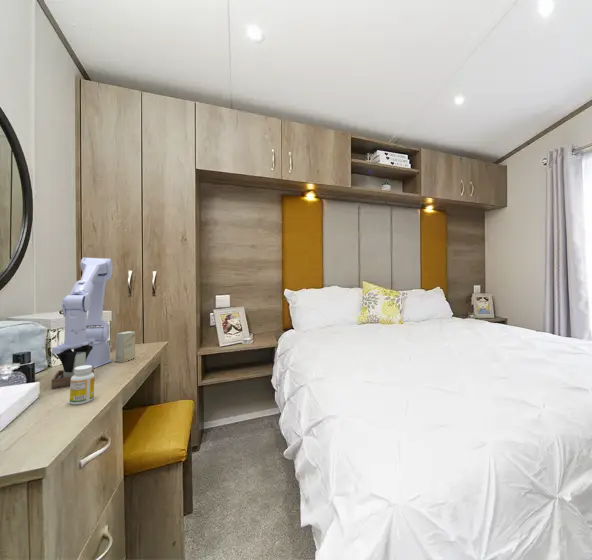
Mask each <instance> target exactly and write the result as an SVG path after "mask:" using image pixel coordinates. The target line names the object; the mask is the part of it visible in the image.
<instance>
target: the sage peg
mask: <svg viewBox="0 0 592 560" xmlns="http://www.w3.org/2000/svg"><path fill="white" fill-rule="evenodd" d="M85 360H86V352H77V354H76V356H75V359H74V365H73V371H72V372H65V371H64V375H63V378H64V377H71V376H73V375H75V374H74V368H76V367H78V366H83V365H85Z"/></svg>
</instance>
